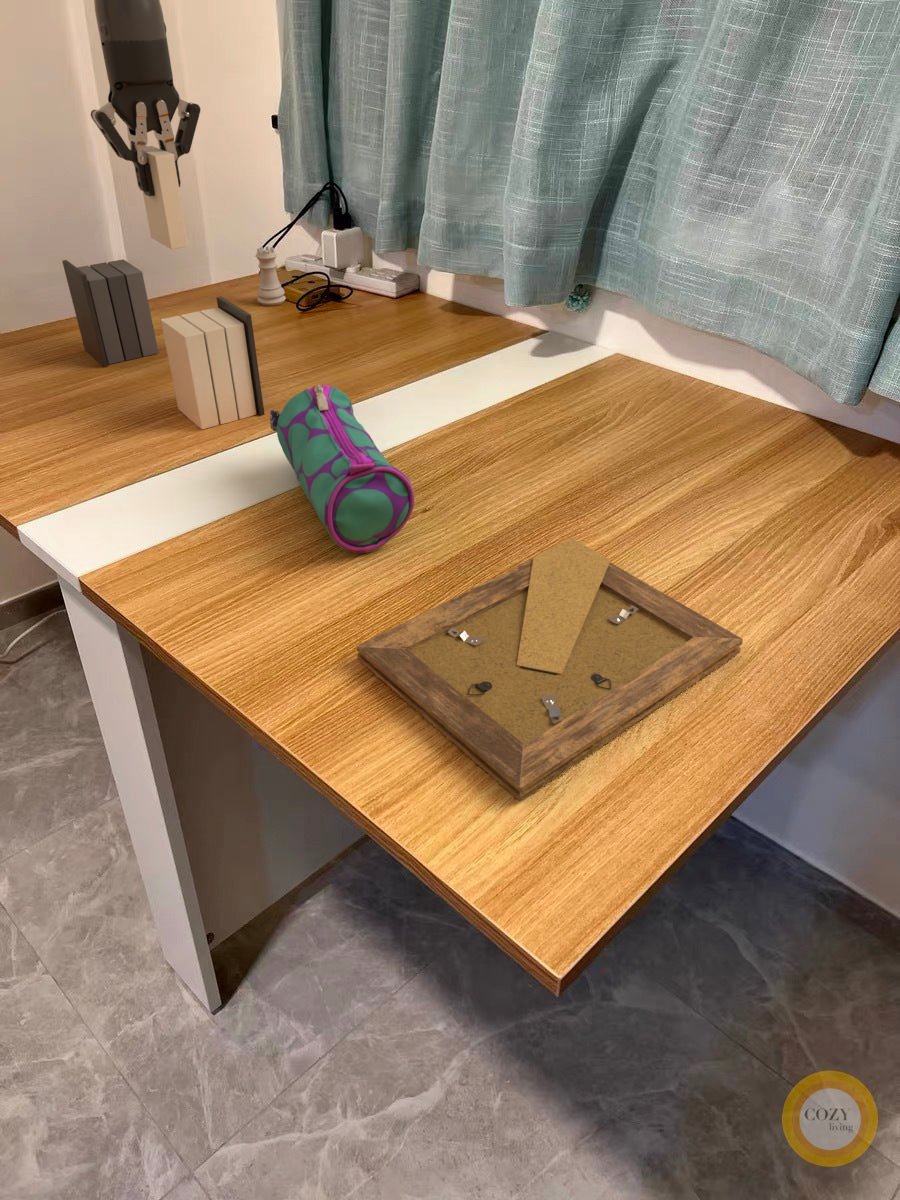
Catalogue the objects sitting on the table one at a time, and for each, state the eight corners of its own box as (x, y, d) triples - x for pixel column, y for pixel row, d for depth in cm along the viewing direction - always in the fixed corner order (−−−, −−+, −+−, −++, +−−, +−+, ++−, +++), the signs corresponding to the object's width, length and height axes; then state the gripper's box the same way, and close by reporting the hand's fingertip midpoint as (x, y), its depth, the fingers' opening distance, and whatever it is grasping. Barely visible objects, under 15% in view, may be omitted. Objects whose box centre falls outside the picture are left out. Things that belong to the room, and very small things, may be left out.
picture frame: (570, 553, 81) (357, 660, 69) (571, 537, 80) (355, 643, 68) (739, 654, 70) (520, 803, 58) (744, 636, 69) (521, 785, 57)
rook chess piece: (252, 305, 138) (245, 252, 133) (264, 296, 141) (257, 244, 137) (279, 307, 137) (273, 253, 132) (290, 298, 140) (284, 245, 136)
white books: (203, 431, 102) (184, 329, 95) (176, 408, 107) (156, 309, 100) (264, 414, 106) (251, 314, 99) (235, 392, 111) (220, 296, 104)
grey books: (103, 367, 118) (81, 275, 111) (84, 349, 123) (61, 260, 116) (160, 354, 121) (142, 264, 114) (139, 337, 127) (120, 250, 119)
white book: (171, 249, 115) (155, 156, 108) (151, 238, 120) (134, 147, 113) (188, 246, 116) (173, 154, 110) (168, 235, 121) (152, 145, 114)
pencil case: (275, 467, 95) (264, 382, 89) (354, 452, 98) (348, 369, 92) (329, 569, 80) (319, 474, 74) (421, 548, 82) (419, 455, 76)
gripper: (177, 30, 110) (199, 182, 120) (63, 35, 103) (97, 195, 113) (202, 34, 105) (223, 192, 115) (84, 39, 98) (118, 206, 109)
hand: (160, 192), depth 114 cm, fingers closed on white book, 2 cm apart
